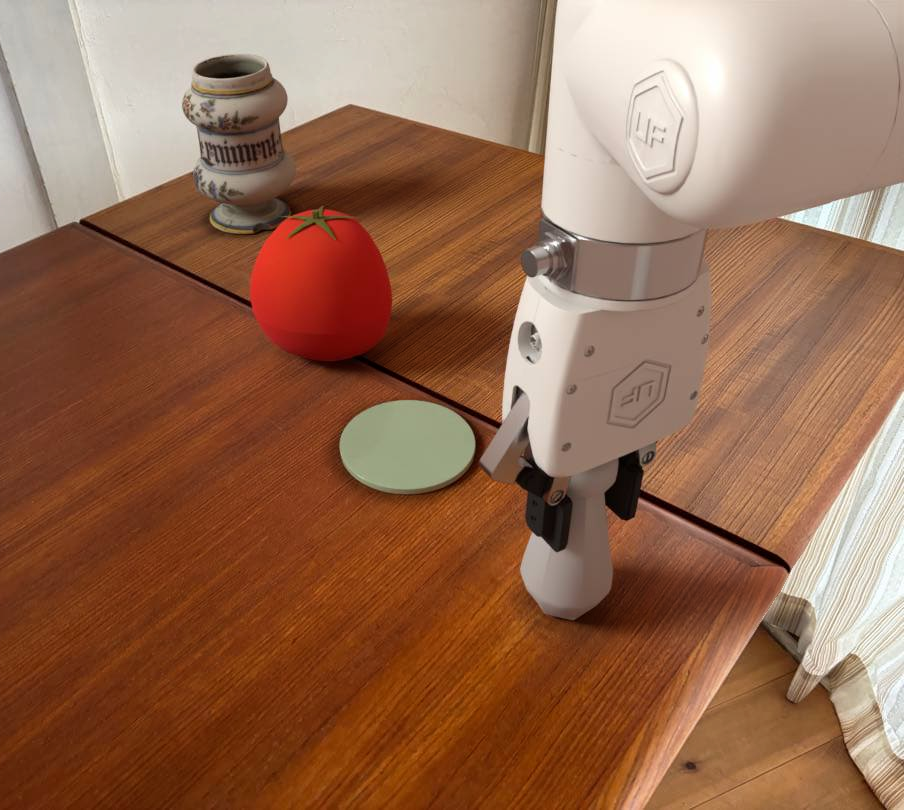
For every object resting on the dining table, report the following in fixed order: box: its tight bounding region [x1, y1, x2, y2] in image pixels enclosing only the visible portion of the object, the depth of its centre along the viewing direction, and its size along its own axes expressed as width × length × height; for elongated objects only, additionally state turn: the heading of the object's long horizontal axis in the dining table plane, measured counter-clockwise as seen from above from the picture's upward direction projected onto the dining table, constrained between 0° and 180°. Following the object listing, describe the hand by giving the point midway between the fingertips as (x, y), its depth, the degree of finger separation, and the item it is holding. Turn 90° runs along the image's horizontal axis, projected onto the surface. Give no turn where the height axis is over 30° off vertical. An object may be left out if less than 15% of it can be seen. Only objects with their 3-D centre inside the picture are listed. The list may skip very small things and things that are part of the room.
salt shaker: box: [519, 458, 619, 621], centre depth 52 cm, size 6×6×13 cm
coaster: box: [339, 399, 477, 495], centre depth 69 cm, size 11×11×1 cm
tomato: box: [249, 205, 393, 362], centre depth 75 cm, size 13×11×14 cm
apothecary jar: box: [181, 53, 297, 235], centre depth 98 cm, size 12×12×18 cm
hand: (580, 518), depth 51 cm, fingers closed on salt shaker, 4 cm apart
